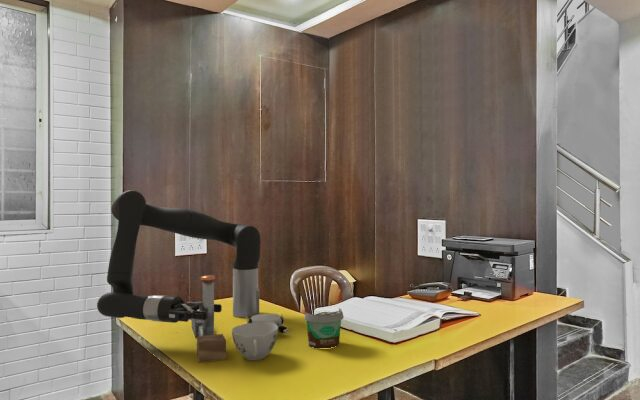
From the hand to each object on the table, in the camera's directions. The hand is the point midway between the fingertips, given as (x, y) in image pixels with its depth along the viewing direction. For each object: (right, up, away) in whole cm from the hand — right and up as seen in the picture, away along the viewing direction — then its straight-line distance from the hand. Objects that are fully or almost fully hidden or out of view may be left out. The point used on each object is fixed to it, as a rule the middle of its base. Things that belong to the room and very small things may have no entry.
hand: (214, 311), depth 130 cm
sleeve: (-9, -11, +18) cm, 23 cm away
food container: (+32, -11, +4) cm, 34 cm away
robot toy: (+13, -11, +18) cm, 25 cm away
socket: (0, -11, -5) cm, 12 cm away
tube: (-4, -10, +5) cm, 12 cm away
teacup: (+12, -11, -6) cm, 18 cm away
